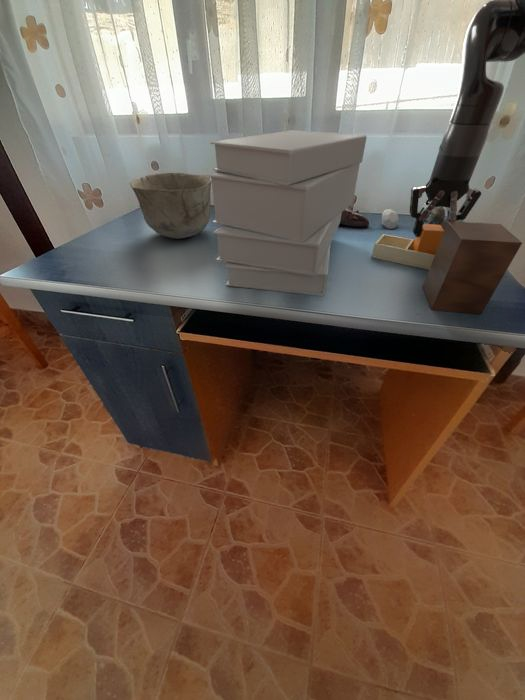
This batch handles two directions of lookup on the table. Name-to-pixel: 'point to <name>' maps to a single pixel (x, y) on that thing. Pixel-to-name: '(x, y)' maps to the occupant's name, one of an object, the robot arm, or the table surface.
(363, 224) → the brown shoe
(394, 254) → the divided box
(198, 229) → the bowl
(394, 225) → the gemstone
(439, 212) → the grey mottled figurine
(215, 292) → the table surface
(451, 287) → the stand
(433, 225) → the orange rectangular block
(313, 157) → the book stack
